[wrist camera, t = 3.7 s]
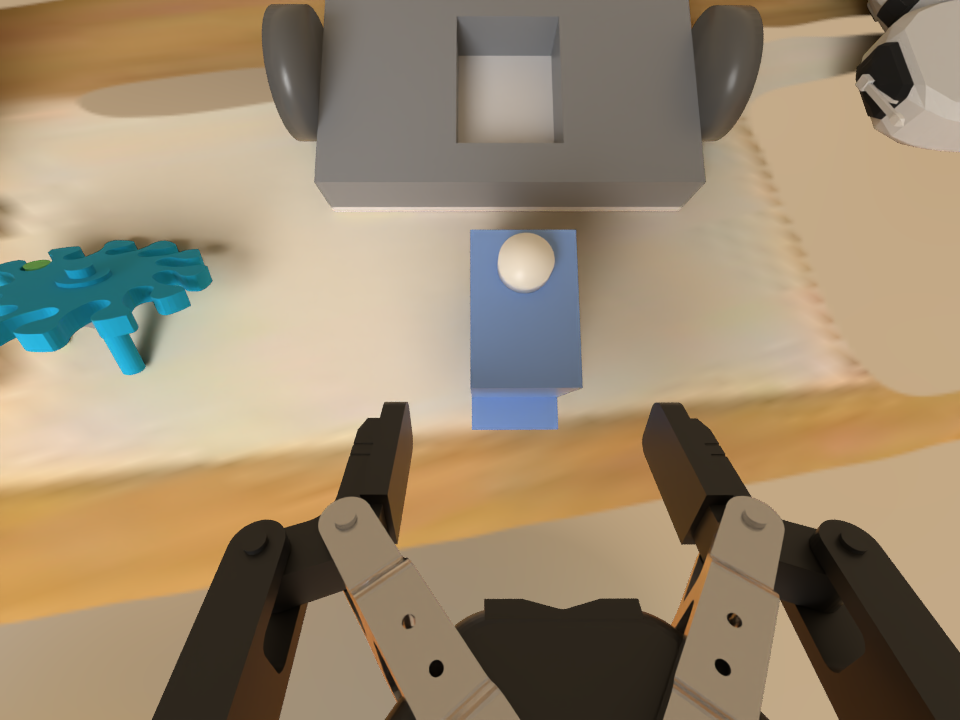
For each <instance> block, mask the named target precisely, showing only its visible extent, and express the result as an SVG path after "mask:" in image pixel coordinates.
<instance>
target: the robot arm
mask: <svg viewBox="0 0 960 720" xmlns="http://www.w3.org/2000/svg"><path fill="white" fill-rule="evenodd" d="M642 445H643V451H644V455H645V457H646V460H647V462H648V464H649V467H650V469H651V472H652V474H653V477H654V479H655V481H656V484H657V486H658V489H659V491H660V494H661V496H662V498H663V501H664V503H665V506H666V508H667V511H668V513H669V515H670V518H671V520H672V522H673V525H674V528H675V530H676V532H677V535H678V537H679V540H680V542H681V544H696V546H697V548H698V551H699V554H698V556H697V558H696V560H695V563H694V566H693V569H692V572H691V574H690V577H689V580H688V583H687V586H686V588H685V591H684V594H683V597H682V600H681V602H680V605H679V608H678V610H677V613H676V615H675V617H674V619H673V621H672V623H671V625H670V624H668V623H667V622H665V621H664V620H662V619H660V618H658V617H656V616H654V615H651V614H649V613H646V612H643V611H641V607H640V604H639V600H638V599H598V600H595V601H592V602H588V603H585V604H582V605H578V606H575V607H571V608H568V609H558V608H554V607H550V606H546V605H543V604H539V603H535V602H531V601H528V600H524V599H485V600H484V611H480V612H477V613H475V614H472V615H470V616H468V617H467V618H465V619H463V620H462V621H460V622H459V623H457V624H456V625H455V626H454V625H453V623H452V622H451V620H450V619H449V617H448V616H447V614H446V613H445V611H444V610H443V608H442V606H441V605H440V603H439V602H438V601H437V599H436V597H435V596H434V594H433V593H432V591H431V590H430V588H429V587H428V585H427V584H426V582H425V581H424V579H423V578H422V576H421V575H420V573H419V571H418V570H417V569H416V567H415V565H414V564H413V563H412V562H411V560H410V559H408V558H404V557H403V556H402V555H401V553H400V552H399V550H398V549H397V547H396V545H395V544H398V537H399V531H400V525H401V519H402V513H403V506H404V500H405V494H406V488H407V482H408V475H409V469H410V463H411V457H412V449H413V435H412V427H411V419H410V411H409V405H408V402H385V403H384V405H383V408H382V412H381V416H380V418H368V419H367V420H366V421H365V422H364V423H363V424H362V426H361V427H360V428H359V429H358V431H357V434H356V437H355V441H354V445H353V447H352V450H351V453H350V456H349V460H348V463H347V466H346V469H345V472H344V476H343V479H342V482H341V485H340V488H339V492H338V495H337V497H336V500H335V501H334V502H333V503H331V504H330V505H329V506H328V507H327V508H326V509H325V510H324V511H323V513H322V514H321V515H320V516H318V517H317V518H315V519H312V520H310V521H307V522H303V523H300V524H297V525H293V526H290V527H286V528H283V526H282V525H281V524H280V523H278V522H276V521H273V520H260V521H256V522H254V523H251V524H249V525H247V526H246V527H244V528H243V529H241V530H240V531H239V532H238V533H237V534H236V535H235V536H234V537H233V538H232V540H231V541H230V543H229V545H228V547H227V549H226V551H225V554H224V556H223V558H222V560H221V563H220V565H219V567H218V570H217V572H216V574H215V576H214V579H213V581H212V583H211V586H210V588H209V590H208V593H207V595H206V597H205V599H204V602H203V604H202V606H201V608H200V611H199V613H198V615H197V618H196V620H195V623H194V624H193V627H192V629H191V631H190V634H189V636H188V638H187V641H186V643H185V645H184V647H183V650H182V652H181V654H180V656H179V659H178V661H177V664H176V666H175V668H174V670H173V673H172V675H171V677H170V679H169V682H168V684H167V686H166V689H165V691H164V693H163V695H162V698H161V700H160V703H159V705H158V707H157V709H156V711H155V714H154V716H153V718H152V720H279V717H280V713H281V709H282V705H283V701H284V697H285V693H286V689H287V685H288V681H289V677H290V673H291V669H292V665H293V661H294V657H295V653H296V649H297V645H298V641H299V637H300V633H301V629H302V624H303V620H304V616H305V613H306V608H307V604H308V602H311V601H314V600H317V599H320V598H323V597H326V596H329V595H331V594H334V593H337V592H340V591H343V593H344V595H345V597H346V599H347V601H348V603H349V605H350V607H351V609H352V611H353V613H354V615H355V617H356V619H357V621H358V623H359V625H360V627H361V629H362V631H363V633H364V635H365V637H366V639H367V641H368V643H369V646H370V648H371V650H372V652H373V654H374V657H375V659H376V661H377V664H378V665H379V668H380V670H381V672H382V674H383V676H384V678H385V680H386V682H387V684H388V686H389V688H390V690H391V692H392V694H393V696H394V698H395V700H396V702H397V703H396V704H395V706H394V707H393V709H392V710H391V712H390V713H389V714H388V716H387V717H386V719H385V720H769V719H768V718H767V717H766V716H765V715H764V714H763V713H762V712H761V705H762V699H763V694H764V688H765V682H766V677H767V671H768V664H769V659H770V654H771V648H772V642H773V637H774V631H775V625H776V619H777V614H778V608H779V600H781V602H782V604H783V606H784V608H785V610H786V612H787V615H788V617H789V619H790V621H791V623H792V625H793V627H794V629H795V631H796V633H797V635H798V637H799V639H800V641H801V643H802V645H803V647H804V649H805V651H806V653H807V655H808V657H809V659H810V661H811V663H812V665H813V667H814V669H815V672H816V674H817V676H818V678H819V680H820V682H821V684H822V686H823V688H824V690H825V692H826V694H827V696H828V698H829V700H830V702H831V704H832V706H833V708H834V710H835V712H836V714H837V716H838V718H839V720H960V652H959V651H958V649H957V648H956V647H955V645H954V644H953V643H952V642H951V640H950V639H949V637H948V636H947V635H946V633H945V632H944V631H943V629H942V628H941V627H940V625H939V624H938V623H937V621H936V620H935V619H934V617H933V616H932V615H931V613H930V612H929V611H928V609H927V608H926V607H925V605H924V604H923V603H922V601H921V600H920V599H919V597H918V596H917V595H916V593H915V592H914V591H913V589H912V588H911V586H910V585H909V584H908V583H907V581H906V580H905V578H904V577H903V576H902V575H901V573H900V572H899V570H898V569H897V568H896V566H895V565H894V564H893V562H892V561H891V560H890V558H889V557H888V556H887V554H886V553H885V552H884V550H883V549H882V548H881V546H880V545H879V544H878V543H877V542H876V540H875V539H874V538H872V537H871V536H870V535H869V534H868V533H866V532H865V531H864V530H862V529H860V528H859V527H857V526H855V525H853V524H850V523H847V522H845V521H841V520H827V521H825V522H823V523H822V524H821V525H820V526H819V527H818V529H814V528H810V527H807V526H803V525H799V524H796V523H792V522H788V521H785V520H782V519H781V518H780V516H779V515H778V514H777V513H776V512H775V511H774V510H773V509H772V508H771V507H770V506H768V505H767V504H765V503H764V502H762V501H760V500H758V499H755V498H752V497H751V495H750V494H749V492H748V491H747V489H746V487H745V486H744V484H743V482H742V481H741V479H740V477H739V476H738V474H737V472H736V471H735V469H734V468H733V466H732V464H731V463H730V461H729V459H728V458H727V457H725V453H724V451H723V450H722V448H721V446H719V443H718V441H717V440H716V438H715V437H714V435H713V433H712V432H711V430H710V429H709V428H708V427H706V426H705V425H704V424H703V423H702V422H701V421H699V420H698V419H690V417H689V416H688V414H687V412H686V410H685V409H684V407H683V405H682V404H681V403H654V405H653V406H652V409H651V412H650V415H649V419H648V422H647V425H646V428H645V431H644V434H643V439H642Z"/></svg>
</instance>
